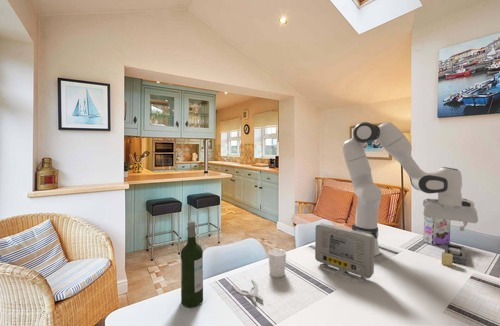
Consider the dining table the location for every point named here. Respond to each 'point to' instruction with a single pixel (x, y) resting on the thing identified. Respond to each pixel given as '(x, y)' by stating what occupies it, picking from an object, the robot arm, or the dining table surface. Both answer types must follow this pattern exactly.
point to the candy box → (436, 231)
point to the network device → (345, 251)
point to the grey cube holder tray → (456, 259)
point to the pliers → (252, 295)
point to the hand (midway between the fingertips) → (448, 228)
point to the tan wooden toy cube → (447, 259)
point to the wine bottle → (191, 270)
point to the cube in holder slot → (455, 251)
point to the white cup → (277, 262)
